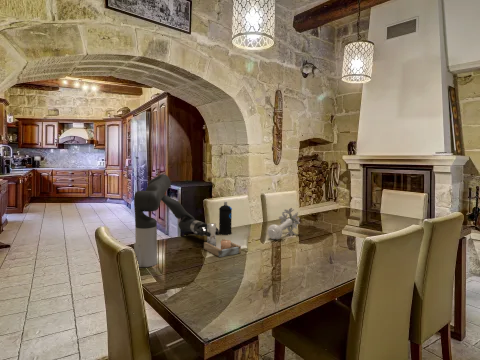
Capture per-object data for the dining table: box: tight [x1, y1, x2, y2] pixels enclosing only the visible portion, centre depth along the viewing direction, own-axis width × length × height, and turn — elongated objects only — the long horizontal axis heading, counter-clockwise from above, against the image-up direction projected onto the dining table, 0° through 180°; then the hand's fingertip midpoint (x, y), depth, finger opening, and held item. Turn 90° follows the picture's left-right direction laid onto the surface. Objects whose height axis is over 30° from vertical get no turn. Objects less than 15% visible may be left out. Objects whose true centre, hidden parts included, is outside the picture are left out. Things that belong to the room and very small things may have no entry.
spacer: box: [220, 239, 231, 250], centre depth 162 cm, size 5×5×6 cm
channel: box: [203, 238, 242, 258], centre depth 165 cm, size 12×16×4 cm
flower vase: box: [267, 207, 301, 240], centre depth 195 cm, size 13×18×25 cm
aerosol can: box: [218, 201, 233, 236], centre depth 201 cm, size 8×8×20 cm
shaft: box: [206, 222, 217, 247], centre depth 174 cm, size 5×5×12 cm
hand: (214, 234), depth 172 cm, fingers closed on shaft, 4 cm apart
